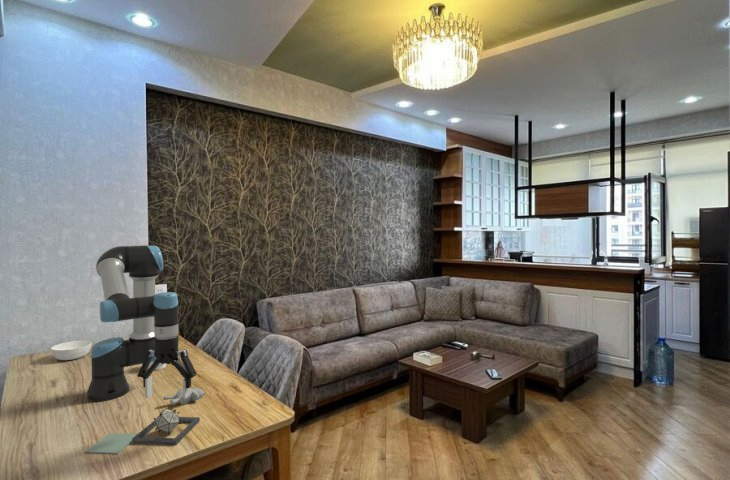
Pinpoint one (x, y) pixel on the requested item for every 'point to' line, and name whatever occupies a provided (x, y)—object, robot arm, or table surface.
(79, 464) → the table surface
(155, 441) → the socket frame
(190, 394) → the grey teddy bear
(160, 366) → the mug
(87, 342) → the bowl
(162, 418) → the game die
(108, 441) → the pad
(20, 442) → the table surface
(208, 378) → the table surface
